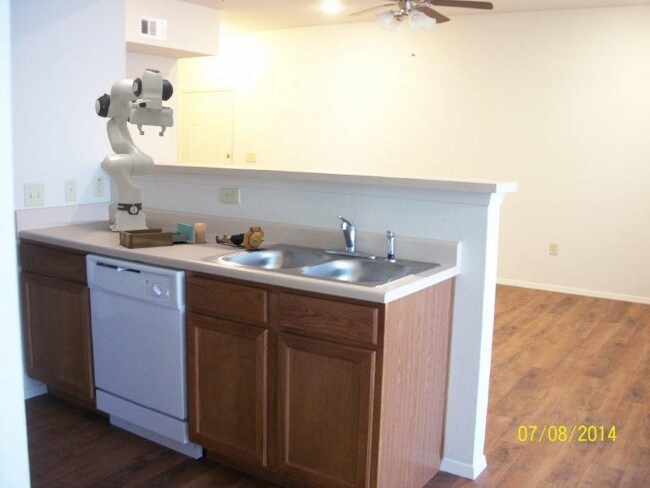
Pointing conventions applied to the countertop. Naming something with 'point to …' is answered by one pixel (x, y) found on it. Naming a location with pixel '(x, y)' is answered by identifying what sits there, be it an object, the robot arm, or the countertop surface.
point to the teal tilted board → (183, 233)
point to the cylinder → (200, 233)
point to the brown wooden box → (145, 238)
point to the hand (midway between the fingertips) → (151, 135)
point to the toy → (245, 238)
